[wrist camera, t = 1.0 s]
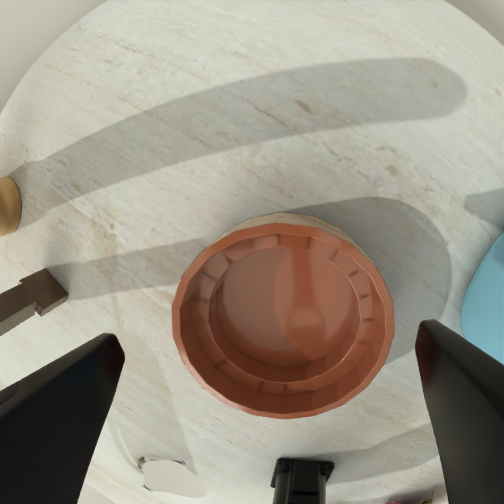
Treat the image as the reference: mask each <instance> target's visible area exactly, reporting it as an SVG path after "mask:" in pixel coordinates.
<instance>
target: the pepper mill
mask: <svg viewBox="0 0 504 504" xmlns="http://www.w3.org/2000/svg"><path fill="white" fill-rule="evenodd" d="M20 218H21V198H20V193H19V190H18V187H17V185H16V184H15V182H14V181H13V180H12V179H11V178H9V177H2V178H0V236H3V235H6V234H9V233H12V232H14V231H15V230H16V228H17V227H18V225H19V222H20Z"/></svg>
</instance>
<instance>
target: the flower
mask: <svg viewBox="0 0 504 504" xmlns="http://www.w3.org/2000/svg"><path fill="white" fill-rule="evenodd" d="M436 485H437V484H436ZM435 487H436V486H435ZM434 489H435V488H434ZM433 491H434V490H433ZM432 494H433V493H432ZM431 503H432V495H431V496H430V498H429V499H428V500H427V501H425V499H424V500H423V502H422V503H421V504H431ZM385 504H403V503H401V502H397V501H389V502H387V503H385Z"/></svg>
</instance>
